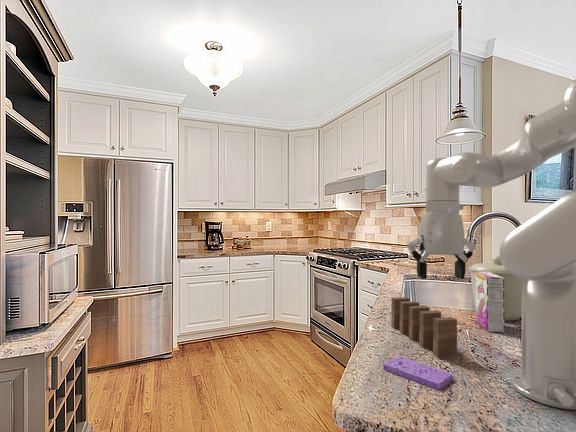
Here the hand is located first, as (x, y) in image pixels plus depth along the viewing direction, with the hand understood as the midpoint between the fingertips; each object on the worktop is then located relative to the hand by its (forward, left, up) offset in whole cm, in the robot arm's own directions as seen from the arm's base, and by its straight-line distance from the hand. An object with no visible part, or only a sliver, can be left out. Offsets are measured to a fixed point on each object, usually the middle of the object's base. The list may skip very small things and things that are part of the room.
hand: (440, 277), depth 87 cm
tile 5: (+19, +9, -19) cm, 28 cm away
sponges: (-14, +6, -19) cm, 25 cm away
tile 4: (+15, +7, -19) cm, 25 cm away
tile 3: (+10, +4, -19) cm, 21 cm away
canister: (+43, -24, -19) cm, 52 cm away
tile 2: (+5, +2, -19) cm, 19 cm away
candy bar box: (+29, -18, -19) cm, 38 cm away
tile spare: (-1, -1, -19) cm, 19 cm away
